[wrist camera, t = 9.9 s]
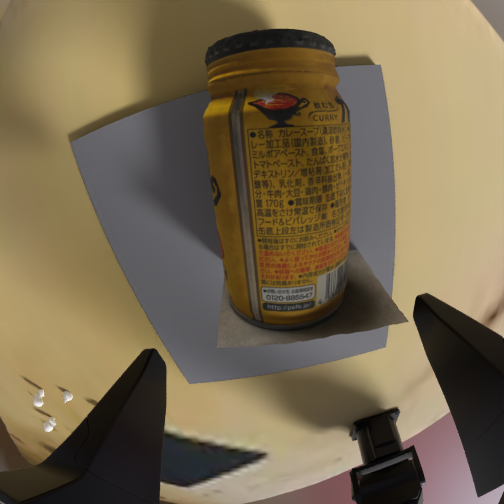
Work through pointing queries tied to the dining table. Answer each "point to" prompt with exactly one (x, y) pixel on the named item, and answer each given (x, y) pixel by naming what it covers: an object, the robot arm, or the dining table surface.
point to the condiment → (285, 193)
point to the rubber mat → (205, 229)
